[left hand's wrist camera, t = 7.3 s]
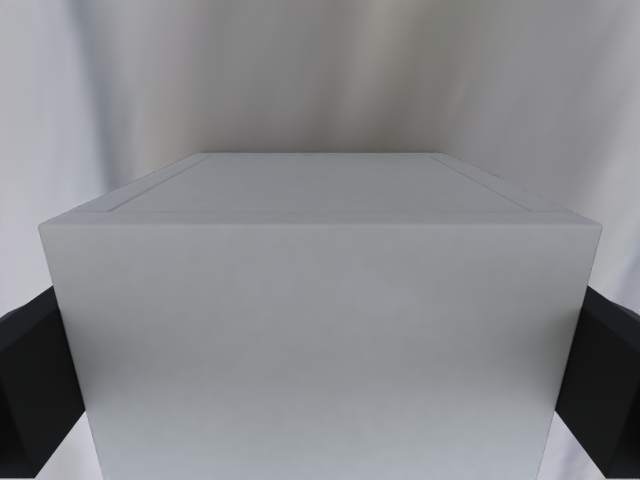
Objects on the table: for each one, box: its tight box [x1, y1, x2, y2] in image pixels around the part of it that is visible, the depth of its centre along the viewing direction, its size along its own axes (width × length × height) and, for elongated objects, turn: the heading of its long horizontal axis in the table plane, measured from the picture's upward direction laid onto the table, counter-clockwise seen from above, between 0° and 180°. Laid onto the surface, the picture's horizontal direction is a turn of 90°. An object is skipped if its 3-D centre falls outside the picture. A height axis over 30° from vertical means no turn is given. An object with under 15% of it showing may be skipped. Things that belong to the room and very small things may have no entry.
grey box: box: [38, 153, 602, 480], centre depth 15 cm, size 18×11×10 cm, turn 0°
